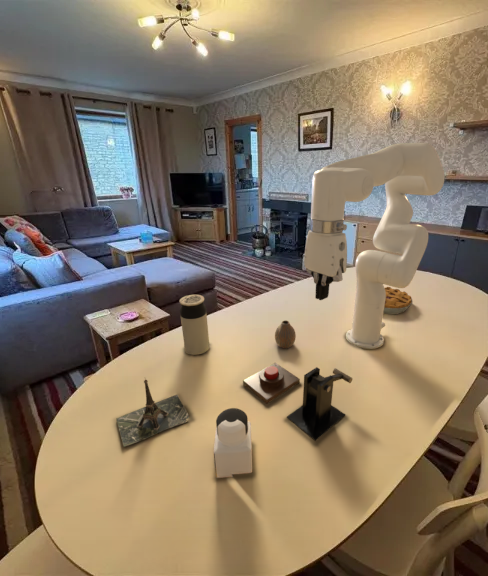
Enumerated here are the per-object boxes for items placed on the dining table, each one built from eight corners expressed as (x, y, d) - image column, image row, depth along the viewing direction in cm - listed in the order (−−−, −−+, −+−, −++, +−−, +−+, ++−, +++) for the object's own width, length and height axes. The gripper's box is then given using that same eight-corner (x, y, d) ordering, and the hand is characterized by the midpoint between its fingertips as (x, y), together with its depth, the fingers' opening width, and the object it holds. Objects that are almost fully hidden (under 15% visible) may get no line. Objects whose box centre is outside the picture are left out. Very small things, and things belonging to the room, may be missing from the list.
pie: (415, 300, 136) (417, 290, 134) (405, 321, 119) (408, 309, 117) (366, 290, 147) (367, 280, 145) (351, 307, 130) (352, 296, 128)
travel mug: (214, 345, 104) (210, 296, 97) (199, 358, 97) (194, 306, 90) (195, 339, 107) (189, 292, 100) (179, 352, 100) (172, 301, 93)
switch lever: (334, 374, 79) (337, 366, 79) (351, 384, 76) (353, 375, 75) (305, 383, 71) (307, 373, 70) (322, 394, 67) (324, 384, 67)
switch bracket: (316, 398, 80) (319, 357, 76) (345, 418, 74) (350, 375, 69) (286, 420, 74) (287, 377, 69) (315, 444, 67) (318, 398, 63)
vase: (293, 352, 100) (294, 328, 97) (273, 349, 101) (273, 326, 98) (296, 340, 106) (297, 318, 103) (276, 338, 107) (277, 316, 104)
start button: (271, 369, 86) (271, 364, 85) (280, 375, 83) (280, 370, 83) (262, 375, 84) (261, 369, 83) (270, 381, 81) (270, 376, 81)
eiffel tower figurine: (178, 395, 82) (171, 353, 76) (191, 420, 74) (185, 374, 69) (116, 419, 74) (104, 374, 69) (124, 450, 66) (111, 402, 61)
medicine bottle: (218, 447, 67) (214, 404, 62) (251, 445, 67) (249, 402, 63) (216, 479, 60) (211, 433, 56) (252, 475, 61) (250, 430, 56)
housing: (275, 368, 92) (275, 357, 91) (299, 385, 85) (300, 373, 84) (243, 386, 85) (242, 374, 83) (267, 406, 78) (266, 394, 76)
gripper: (363, 228, 69) (355, 303, 76) (312, 220, 79) (309, 286, 86) (343, 234, 64) (336, 312, 71) (292, 223, 74) (290, 293, 81)
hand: (321, 297), depth 79 cm, fingers closed
